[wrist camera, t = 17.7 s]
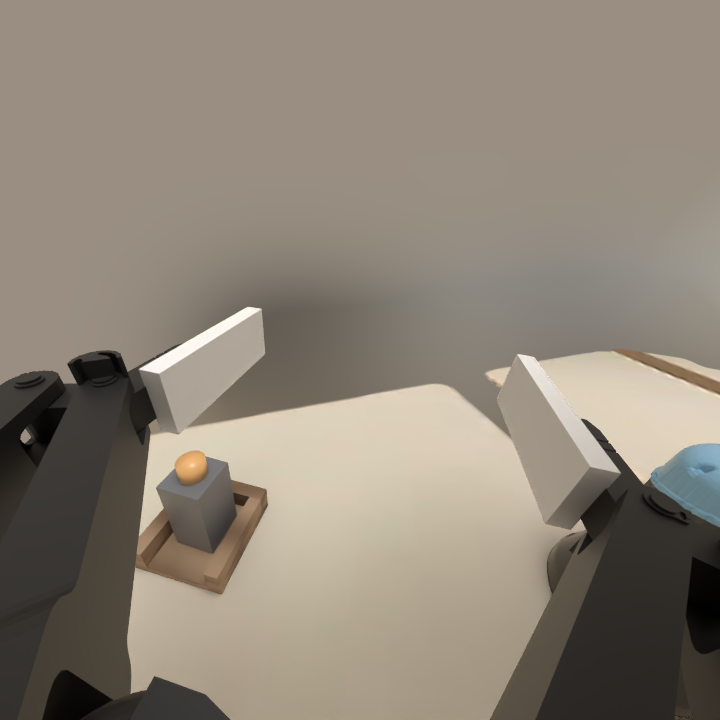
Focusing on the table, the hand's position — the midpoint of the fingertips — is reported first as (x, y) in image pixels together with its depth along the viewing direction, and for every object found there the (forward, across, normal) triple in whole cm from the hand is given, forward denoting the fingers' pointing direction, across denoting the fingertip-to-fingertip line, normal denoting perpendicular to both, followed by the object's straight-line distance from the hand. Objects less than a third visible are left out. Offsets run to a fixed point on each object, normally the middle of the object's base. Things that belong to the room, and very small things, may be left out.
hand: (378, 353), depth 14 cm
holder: (+2, -17, -30) cm, 35 cm away
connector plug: (+2, -17, -29) cm, 34 cm away
